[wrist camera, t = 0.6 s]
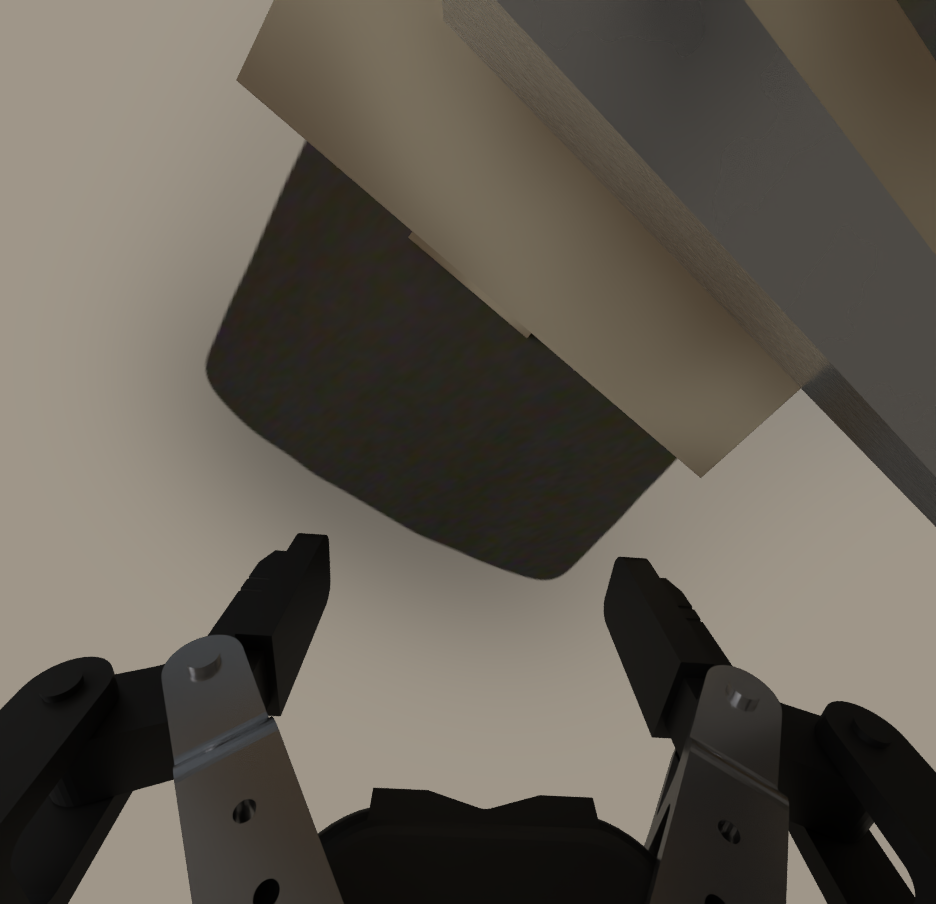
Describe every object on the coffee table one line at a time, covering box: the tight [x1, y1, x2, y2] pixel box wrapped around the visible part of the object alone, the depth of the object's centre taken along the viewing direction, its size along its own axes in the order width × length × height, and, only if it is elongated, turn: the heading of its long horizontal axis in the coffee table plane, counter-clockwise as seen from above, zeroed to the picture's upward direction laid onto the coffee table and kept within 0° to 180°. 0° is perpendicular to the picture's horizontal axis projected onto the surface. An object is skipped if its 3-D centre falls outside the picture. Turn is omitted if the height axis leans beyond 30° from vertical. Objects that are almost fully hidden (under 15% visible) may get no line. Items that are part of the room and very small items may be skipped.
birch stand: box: [237, 0, 936, 478], centre depth 25 cm, size 12×16×32 cm
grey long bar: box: [442, 0, 936, 526], centre depth 10 cm, size 3×22×3 cm, turn 51°
